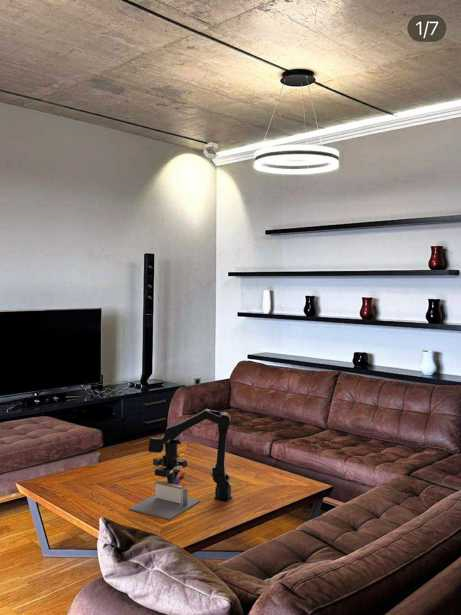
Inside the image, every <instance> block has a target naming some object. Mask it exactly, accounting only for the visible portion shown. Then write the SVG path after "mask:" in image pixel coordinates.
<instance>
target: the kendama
mask: <svg viewBox="0 0 461 615" xmlns="http://www.w3.org/2000/svg"><path fill="white" fill-rule="evenodd" d="M179 470H180V472H179V474H178V475H177V477H176V479H175V481H174V484H175V485H179V486H180V479H181V478H183V477H184V476H185V474H186V473H185V471H184V470H183V469H179ZM166 483H169V482H168V480H166Z"/></svg>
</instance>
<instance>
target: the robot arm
mask: <svg viewBox="0 0 461 615" xmlns="http://www.w3.org/2000/svg"><path fill="white" fill-rule="evenodd" d="M206 420H207V421H210V422H212V423H215V424H217V429H218V430H217V431H218V440H217V450H216V451H217V453H216V463H215V464H214V463H213V464H212V467H211V468H212V469H211V470H212V472H211V477H212V480H213V482H214V483H216V485H215V488H214V489H215V491H214V492H215V494H214V495H215V496H214V500H218V501H223V502H227V501H229V500H231V499H232V498H234V497H233V495H232V485H231V484H230V482H231V477H230V476H229V475H228V474H227V471H226V462H225V460H226V449H227V447H226V446H227V437H228V436H227V435H228V431H229V427H230V424H231V415H230V413H228V412H226V411H222V412H220V411H217V410H212V409H208V408H205V409H203V410H202V411H201V412H200V411H199V412H198V413H196V414H193V415H192V416H190V417H188V418H187V419H185V420H183V421H180V422H174V423H172V424H169V425H168V426H167V427H166V429H165V431H164V434H163V435H162V436H161V437H152V436H151V437H150V438H149V442H148V446H147V448H148V449H147V451H148V453H152V454H153V453H154V454H155V453H156V454H158V453H159V454H160V453H162V452H163V451H164V455H162V457H155V458H153V459H152V465H153V466H155V469H154V476H155V477H156V476H157V477H161V478H166V479H167V480H168V482H169V483H170V484H174V481H175V479H176V477H177V475H178V474H179V472H180V470H181V469H179V467H182V468H184V469H185V468H187V467H188V462H187V460H185V459H180V458H179V457H180V454H178V446H179V445H181V444H182V441H183V440H181V438H179V436H180V435H181V434H182V433H183V432H185V431H186V430H188V429H190V428H192V427H194V426H196V425H197V424H200V423H202V422H203V421H206ZM156 467H158V468H156ZM167 480H166V481H167Z"/></svg>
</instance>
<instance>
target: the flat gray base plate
mask: <svg viewBox="0 0 461 615" xmlns="http://www.w3.org/2000/svg"><path fill="white" fill-rule="evenodd" d="M188 492H189V491H188V488H187V487H183V503H177V502H172V501H168V500H164V499H160V498H156V493H154V494H153V495H151V496H150V497H148V498H146V499H143V500H142V501H140V502H138V503H136V504H134V505H132V506H130V507H129V508H128V510H130V511H132V512H137V513H141V514H145V515H149V516H152V517H156V518H161V519H164V520H168V521H171V520H172V519H174V518H176V517H177V516H180V515H181V514H183V513H184V512H186V511H187V510H189V509H191V508H192V507H194V506H196V505H197V504H199V503H201V499H196V498H194V497H192V498H191V497H188V495H189V494H188Z"/></svg>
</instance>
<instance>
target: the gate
mask: <svg viewBox="0 0 461 615" xmlns="http://www.w3.org/2000/svg"><path fill="white" fill-rule="evenodd" d="M183 488H184V486H183V485H180V484H179V485H175V484H170V483H167V482H165V481H160V480H156V481H155V494H156V498H160V499H164V500H168V501H172V502H177V503H183Z"/></svg>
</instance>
